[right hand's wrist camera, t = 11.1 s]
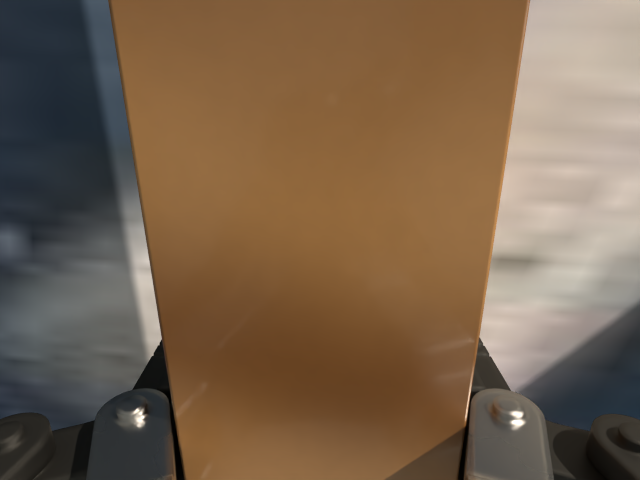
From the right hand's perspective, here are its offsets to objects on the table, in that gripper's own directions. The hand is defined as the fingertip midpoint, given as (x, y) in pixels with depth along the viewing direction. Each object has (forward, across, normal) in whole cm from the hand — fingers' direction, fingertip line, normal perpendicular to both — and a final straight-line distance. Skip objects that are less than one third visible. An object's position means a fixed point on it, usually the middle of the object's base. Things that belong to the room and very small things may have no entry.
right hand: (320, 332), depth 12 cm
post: (+3, 0, -20) cm, 21 cm away
